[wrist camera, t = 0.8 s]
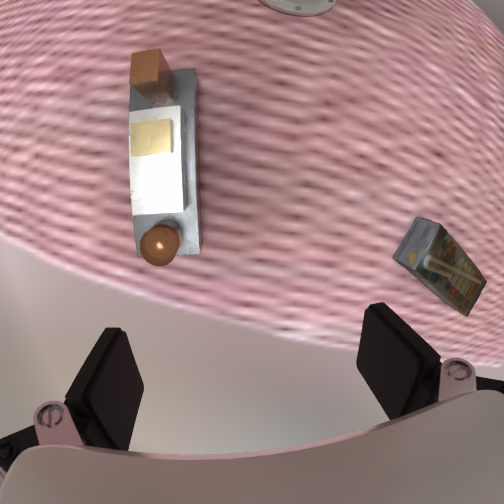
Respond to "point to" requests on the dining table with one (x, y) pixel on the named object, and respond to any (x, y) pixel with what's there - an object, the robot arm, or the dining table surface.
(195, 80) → the plane body
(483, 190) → the dining table surface
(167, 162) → the white box
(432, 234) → the beverage carton
